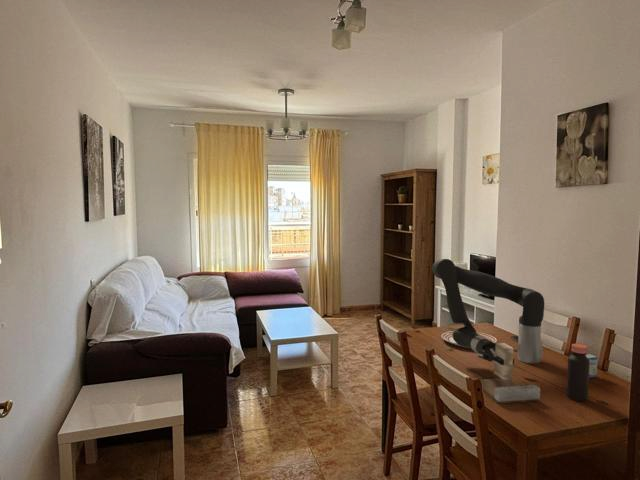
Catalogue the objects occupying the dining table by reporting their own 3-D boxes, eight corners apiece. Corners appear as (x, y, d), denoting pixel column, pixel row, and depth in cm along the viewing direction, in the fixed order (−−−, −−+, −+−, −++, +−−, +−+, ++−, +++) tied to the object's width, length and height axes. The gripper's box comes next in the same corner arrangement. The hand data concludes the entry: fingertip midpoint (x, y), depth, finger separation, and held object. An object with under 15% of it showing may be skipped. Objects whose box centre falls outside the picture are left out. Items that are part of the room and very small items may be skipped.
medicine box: (582, 379, 170) (583, 358, 169) (573, 375, 174) (573, 355, 173) (597, 377, 172) (598, 357, 171) (587, 373, 176) (588, 353, 176)
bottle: (578, 393, 156) (580, 342, 155) (592, 401, 150) (595, 348, 148) (562, 394, 155) (564, 343, 154) (575, 402, 149) (578, 349, 147)
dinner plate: (430, 338, 224) (431, 332, 224) (469, 332, 235) (469, 327, 234) (466, 355, 199) (467, 348, 198) (508, 347, 209) (508, 341, 209)
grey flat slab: (508, 380, 168) (508, 377, 168) (537, 400, 150) (537, 397, 150) (472, 382, 166) (472, 380, 166) (497, 403, 148) (497, 400, 148)
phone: (525, 345, 210) (509, 336, 225) (525, 347, 210) (509, 338, 225) (539, 344, 211) (522, 335, 226) (539, 347, 211) (522, 337, 226)
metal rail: (534, 395, 152) (534, 384, 152) (539, 398, 149) (540, 388, 149) (494, 398, 150) (494, 387, 150) (499, 401, 147) (499, 391, 147)
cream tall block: (502, 372, 161) (504, 342, 160) (511, 379, 155) (513, 348, 154) (494, 373, 160) (495, 343, 160) (503, 379, 155) (504, 348, 154)
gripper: (468, 338, 170) (491, 353, 153) (499, 337, 172) (526, 352, 155) (467, 356, 171) (490, 372, 154) (499, 355, 173) (524, 371, 156)
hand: (508, 362), depth 154 cm, fingers closed on cream tall block, 3 cm apart
